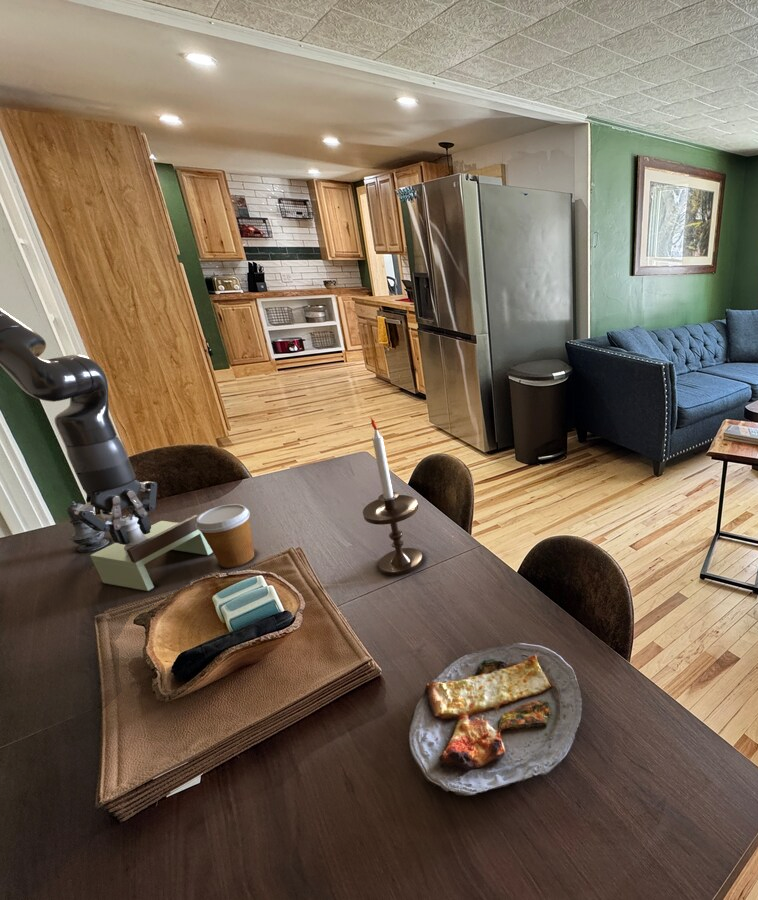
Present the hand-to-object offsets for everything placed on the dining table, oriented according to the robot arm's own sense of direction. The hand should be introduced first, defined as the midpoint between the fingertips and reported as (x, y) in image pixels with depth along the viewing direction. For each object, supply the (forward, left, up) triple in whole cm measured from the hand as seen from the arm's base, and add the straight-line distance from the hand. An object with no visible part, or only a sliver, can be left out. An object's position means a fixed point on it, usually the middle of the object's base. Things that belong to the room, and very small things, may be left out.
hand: (134, 537), depth 97 cm
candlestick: (+49, +17, -10) cm, 52 cm away
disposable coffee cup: (+12, +10, -10) cm, 18 cm away
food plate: (+86, -14, -10) cm, 87 cm away
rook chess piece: (0, 0, -3) cm, 3 cm away
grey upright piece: (-26, +7, -10) cm, 29 cm away
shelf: (-2, +4, -10) cm, 11 cm away
